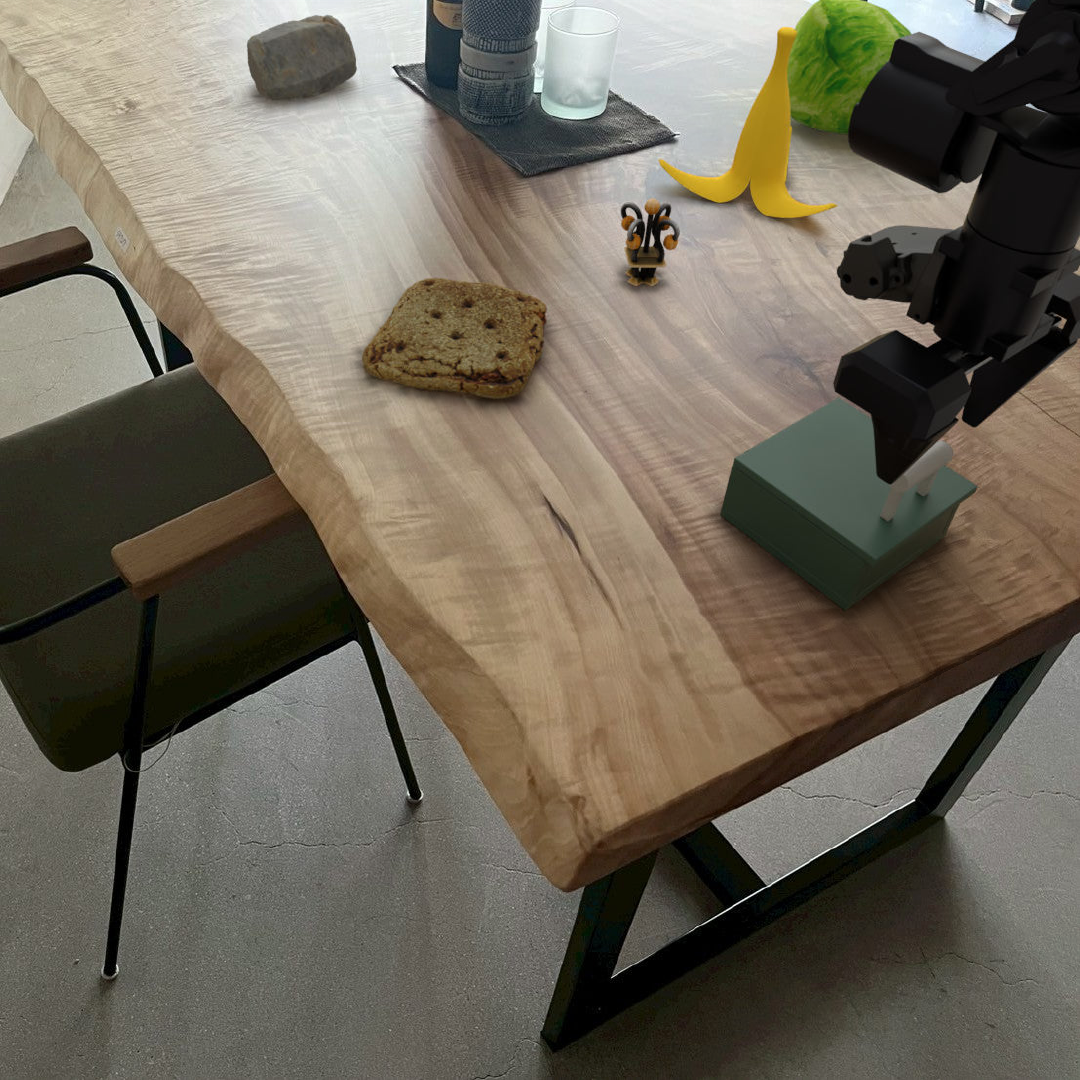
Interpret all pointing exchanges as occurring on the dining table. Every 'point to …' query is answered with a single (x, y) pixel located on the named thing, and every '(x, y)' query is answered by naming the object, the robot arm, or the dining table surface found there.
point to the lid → (853, 481)
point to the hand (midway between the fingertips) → (928, 450)
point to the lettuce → (837, 60)
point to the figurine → (647, 240)
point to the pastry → (459, 338)
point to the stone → (301, 58)
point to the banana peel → (760, 149)
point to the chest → (816, 542)
